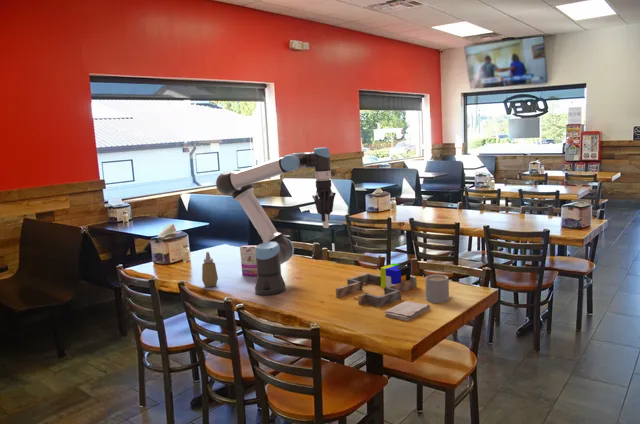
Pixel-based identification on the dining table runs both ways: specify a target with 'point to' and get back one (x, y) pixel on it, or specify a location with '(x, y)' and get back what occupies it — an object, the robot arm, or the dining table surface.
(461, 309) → the dining table surface
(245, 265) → the candy bar box
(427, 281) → the coffee mug
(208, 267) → the squeeze bottle
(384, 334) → the dining table surface
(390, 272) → the puzzle toy
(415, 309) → the washcloth
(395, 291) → the trap lane
